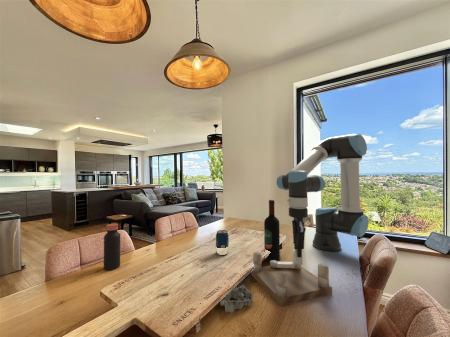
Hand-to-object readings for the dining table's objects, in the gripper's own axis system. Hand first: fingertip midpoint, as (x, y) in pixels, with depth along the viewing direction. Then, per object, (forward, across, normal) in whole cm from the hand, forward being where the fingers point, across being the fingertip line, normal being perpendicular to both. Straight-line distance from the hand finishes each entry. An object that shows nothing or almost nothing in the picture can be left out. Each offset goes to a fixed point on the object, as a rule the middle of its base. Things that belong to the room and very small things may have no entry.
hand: (298, 263), depth 85 cm
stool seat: (+6, +4, -5) cm, 9 cm away
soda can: (+6, -23, -35) cm, 42 cm away
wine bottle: (+6, -18, -9) cm, 21 cm away
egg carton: (+7, +19, -25) cm, 32 cm away
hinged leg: (+3, -4, -5) cm, 7 cm away
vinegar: (+6, -1, -85) cm, 85 cm away
